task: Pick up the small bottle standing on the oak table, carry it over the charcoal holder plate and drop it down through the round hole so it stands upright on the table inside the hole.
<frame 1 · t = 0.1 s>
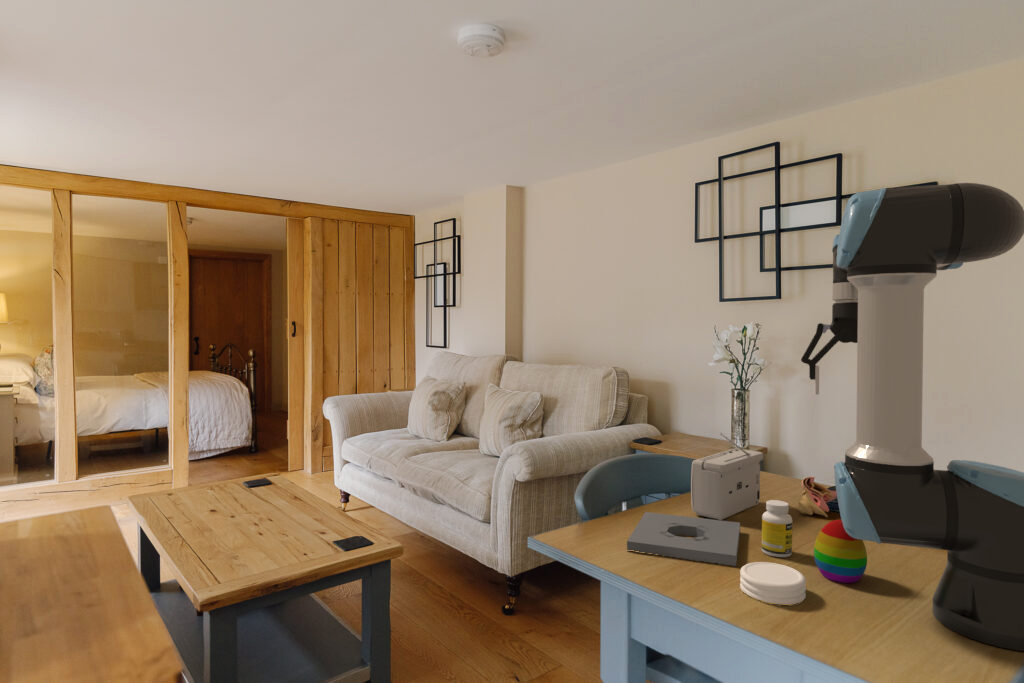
hand: (849, 395, 139), 28 cm above the table, tool pointing down, fingers open, 13 cm apart
holder plate: (686, 541, 124), on the table
supplement bottle: (776, 554, 118), on the table
decorative egg: (839, 578, 106), on the table
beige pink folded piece: (816, 513, 143), on the table
stereo radio cassette player: (728, 510, 145), on the table
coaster: (772, 594, 101), on the table
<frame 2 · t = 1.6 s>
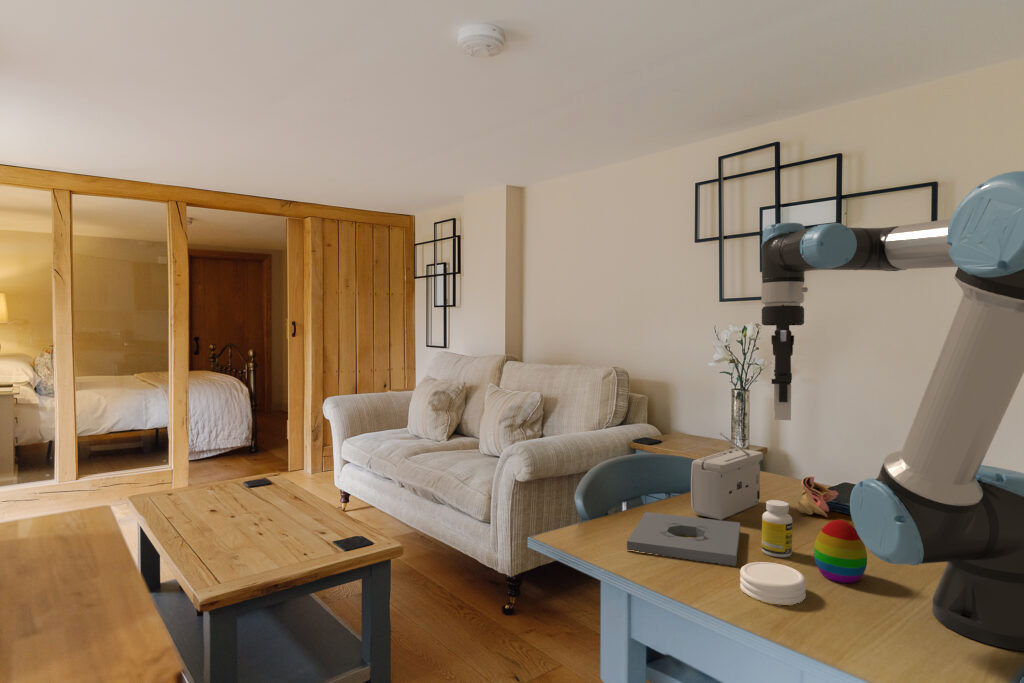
hand: (782, 414, 118), 27 cm above the table, tool pointing down, fingers open, 13 cm apart
nothing on the table moved.
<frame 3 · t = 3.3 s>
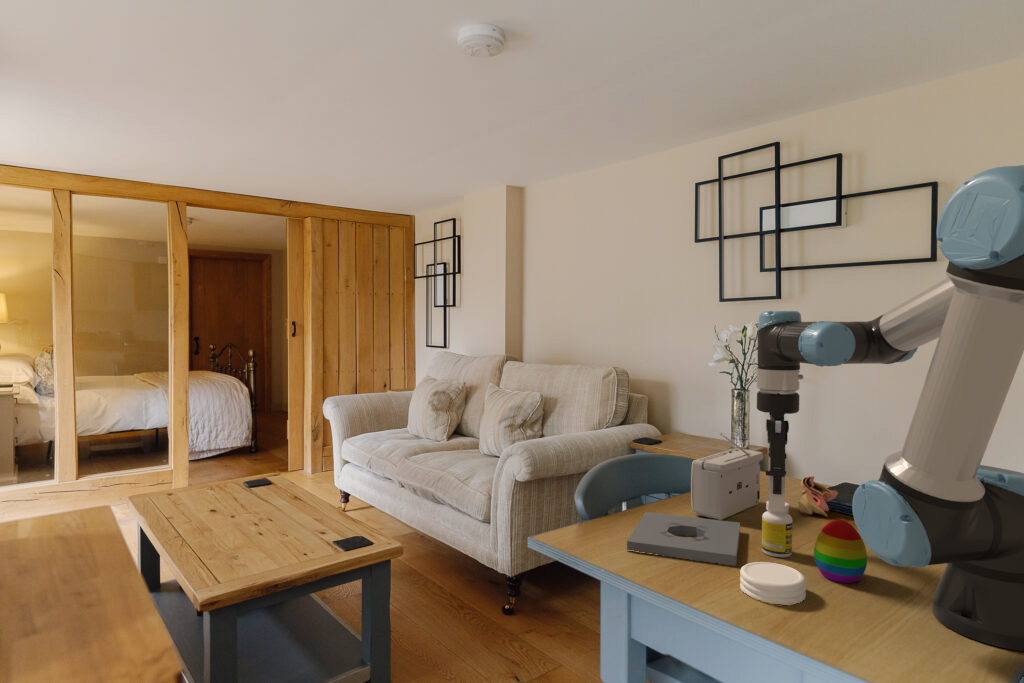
hand: (775, 500, 118), 10 cm above the table, tool pointing down, fingers open, 13 cm apart
nothing on the table moved.
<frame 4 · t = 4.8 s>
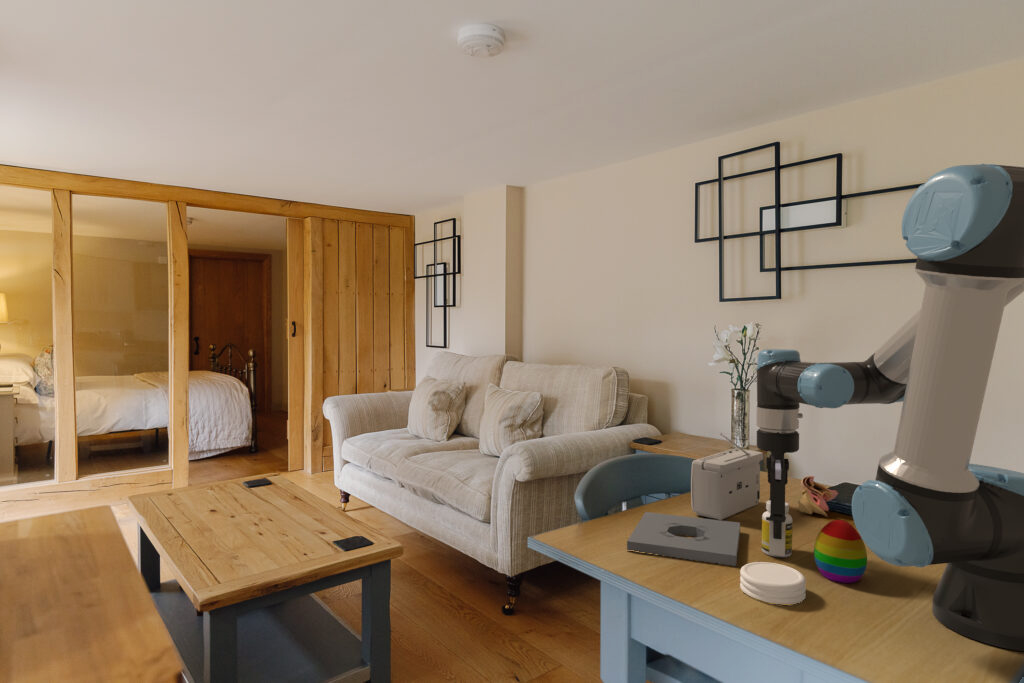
hand: (776, 548, 118), 1 cm above the table, tool pointing down, fingers closed on supplement bottle, 5 cm apart
supplement bottle: (776, 553, 118), on the table, touching gripper
everything else where it was.
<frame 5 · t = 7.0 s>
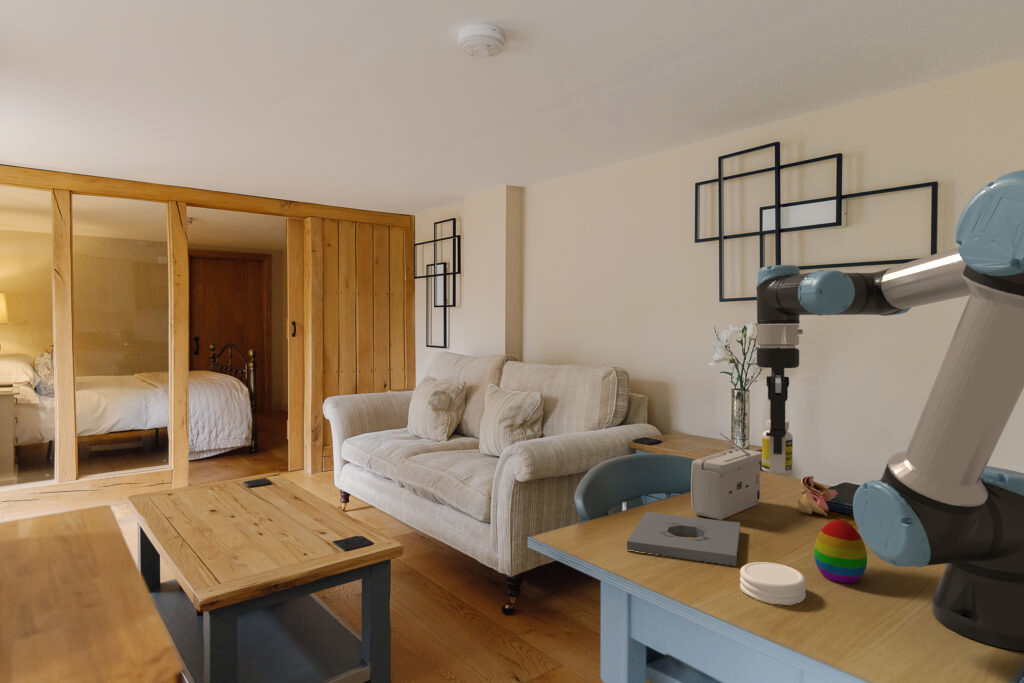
hand: (776, 466, 117), 17 cm above the table, tool pointing down, fingers closed on supplement bottle, 5 cm apart
supplement bottle: (776, 472, 117), point 16 cm above the table, touching gripper
everything else where it was.
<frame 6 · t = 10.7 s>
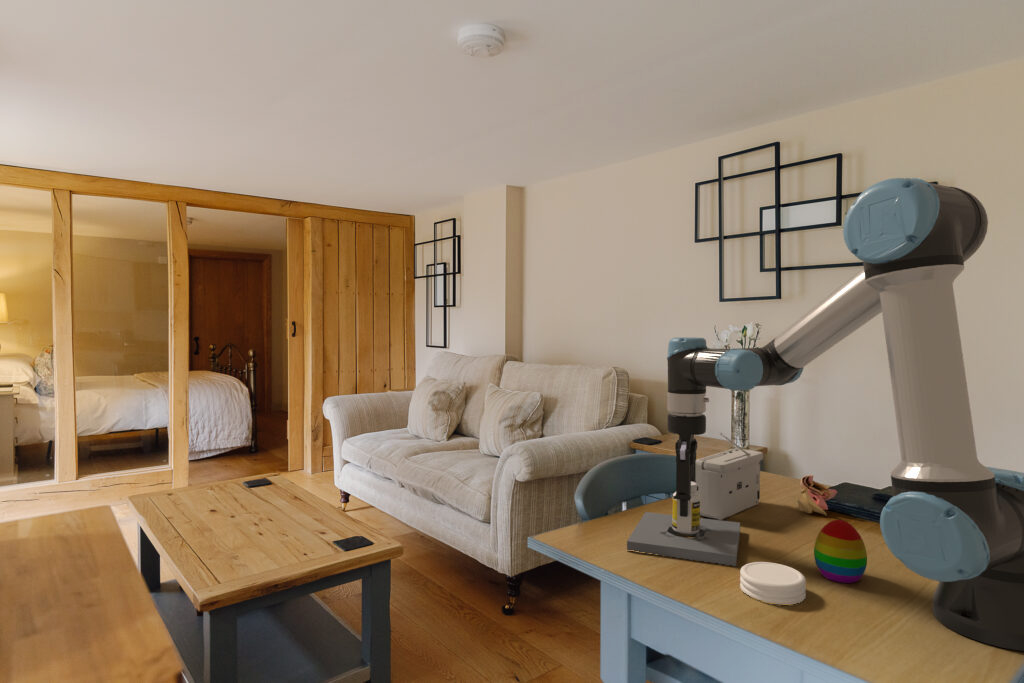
hand: (686, 526, 124), 3 cm above the table, tool pointing down, fingers closed on supplement bottle, 5 cm apart
supplement bottle: (686, 531, 124), point 2 cm above the table, touching gripper
when the fingers open (3 cm above the table, at t = 11.1 s): supplement bottle drops 2 cm, resting in holder plate.
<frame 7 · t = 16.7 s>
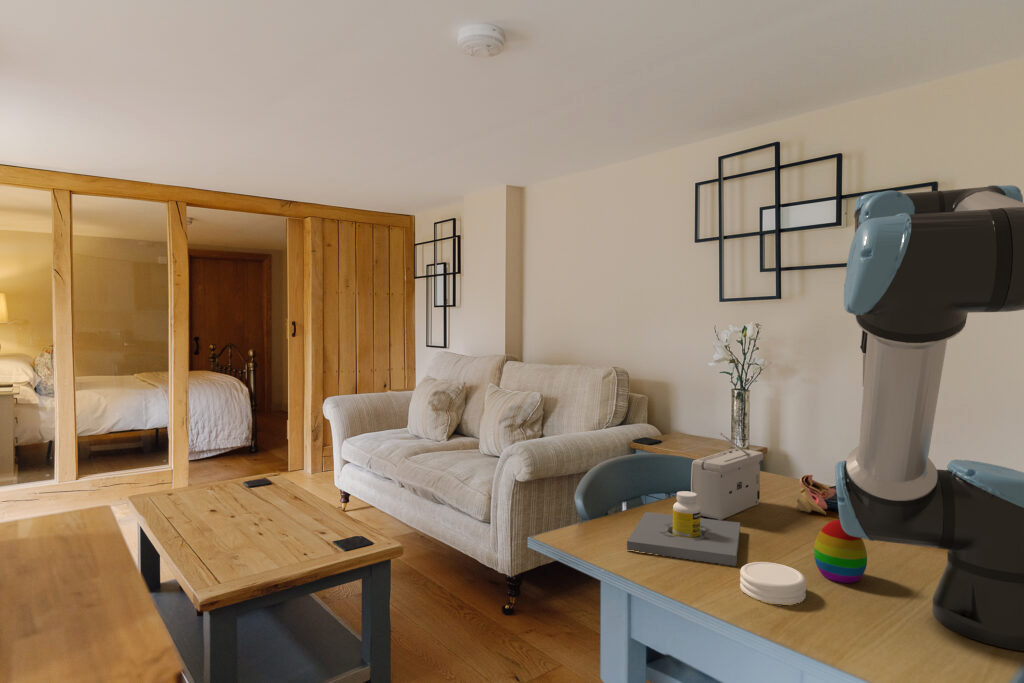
hand: (875, 390, 115), 32 cm above the table, tool pointing down, fingers open, 13 cm apart
supplement bottle: (686, 542, 124), resting in holder plate
at the end: supplement bottle 0.2 cm off-centre on the holder plate, point 0.0 cm above the holder plate's base; supplement bottle tilted 0°; the gripper is holding nothing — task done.
